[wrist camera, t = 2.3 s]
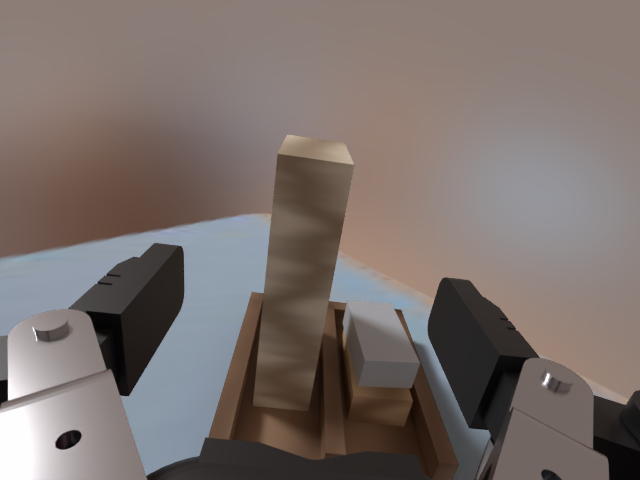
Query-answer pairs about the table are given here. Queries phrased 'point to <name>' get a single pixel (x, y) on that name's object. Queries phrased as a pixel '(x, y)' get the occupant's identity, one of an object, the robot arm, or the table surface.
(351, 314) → the grey offcut
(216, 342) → the table surface
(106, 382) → the robot arm
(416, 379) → the rack
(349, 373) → the oak offcut
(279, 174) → the birch board
